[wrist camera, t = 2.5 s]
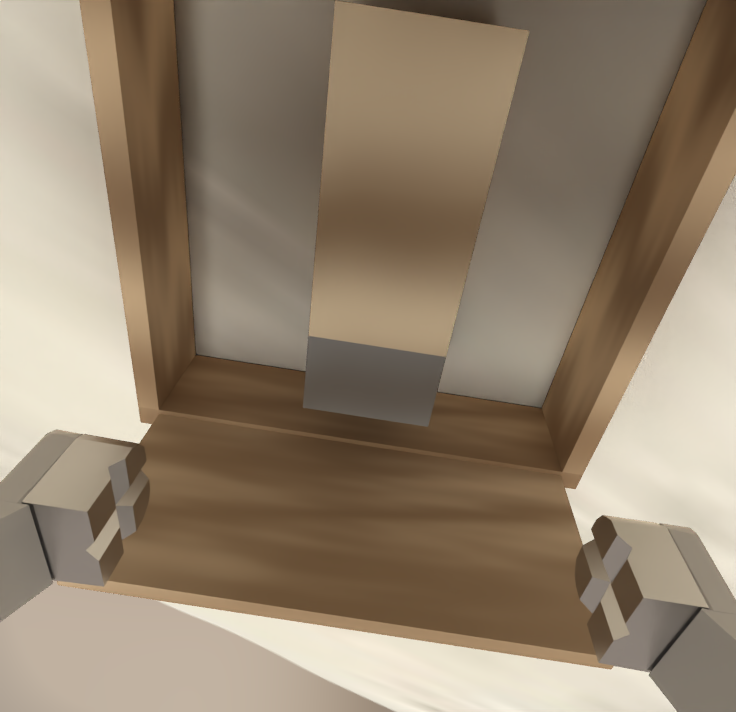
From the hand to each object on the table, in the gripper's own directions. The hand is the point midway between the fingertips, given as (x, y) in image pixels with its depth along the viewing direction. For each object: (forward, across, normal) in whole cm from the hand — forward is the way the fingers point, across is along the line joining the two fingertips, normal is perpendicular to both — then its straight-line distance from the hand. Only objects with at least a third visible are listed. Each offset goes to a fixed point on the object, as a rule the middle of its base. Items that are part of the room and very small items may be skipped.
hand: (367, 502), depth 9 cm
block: (+13, 0, -2) cm, 13 cm away
